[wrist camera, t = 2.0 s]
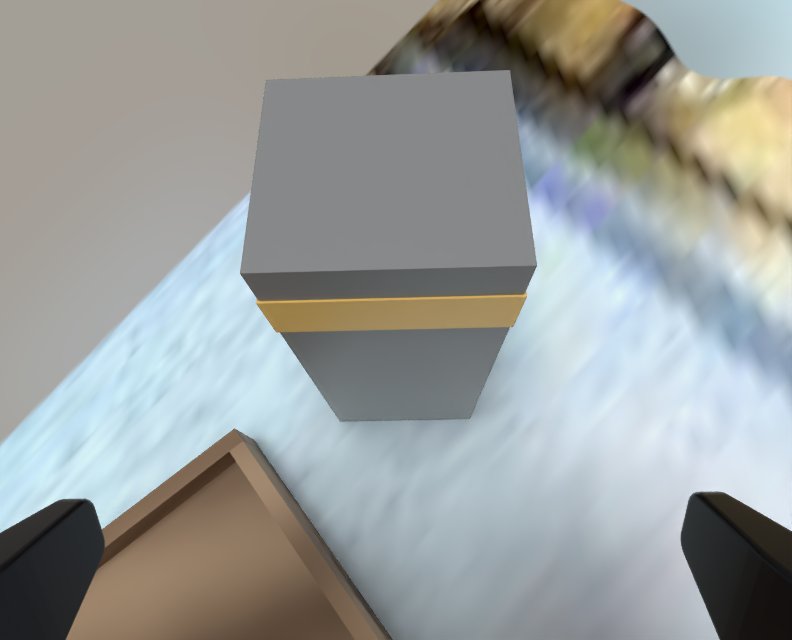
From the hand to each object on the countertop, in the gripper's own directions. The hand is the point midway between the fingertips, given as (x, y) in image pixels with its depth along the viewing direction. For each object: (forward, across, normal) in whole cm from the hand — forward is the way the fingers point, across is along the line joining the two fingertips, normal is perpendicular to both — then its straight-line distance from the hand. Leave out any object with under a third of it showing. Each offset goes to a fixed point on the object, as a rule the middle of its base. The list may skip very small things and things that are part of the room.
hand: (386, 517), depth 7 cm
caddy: (+14, 0, +4) cm, 15 cm away
